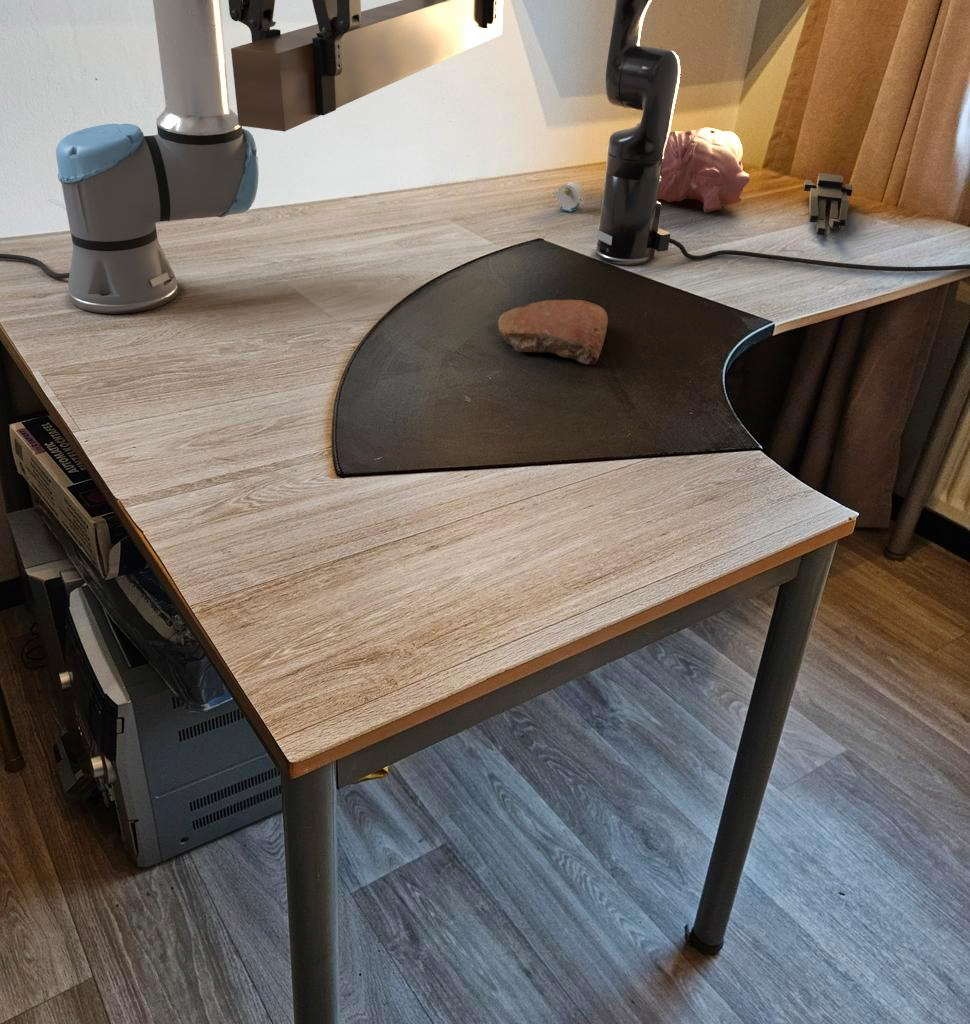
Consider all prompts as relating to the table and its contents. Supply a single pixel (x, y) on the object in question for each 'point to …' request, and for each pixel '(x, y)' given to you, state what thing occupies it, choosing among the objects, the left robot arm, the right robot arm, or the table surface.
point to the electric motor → (570, 196)
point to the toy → (828, 201)
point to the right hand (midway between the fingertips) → (468, 25)
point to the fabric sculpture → (703, 168)
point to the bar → (353, 58)
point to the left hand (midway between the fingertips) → (300, 108)
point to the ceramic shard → (557, 328)
